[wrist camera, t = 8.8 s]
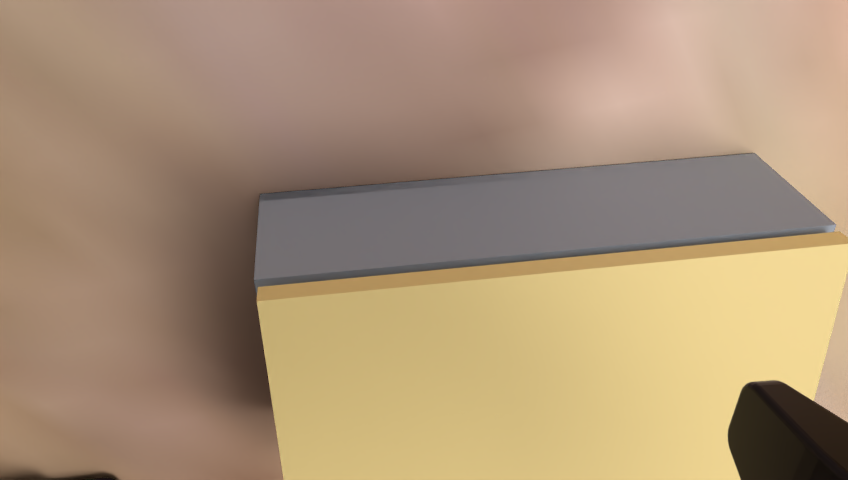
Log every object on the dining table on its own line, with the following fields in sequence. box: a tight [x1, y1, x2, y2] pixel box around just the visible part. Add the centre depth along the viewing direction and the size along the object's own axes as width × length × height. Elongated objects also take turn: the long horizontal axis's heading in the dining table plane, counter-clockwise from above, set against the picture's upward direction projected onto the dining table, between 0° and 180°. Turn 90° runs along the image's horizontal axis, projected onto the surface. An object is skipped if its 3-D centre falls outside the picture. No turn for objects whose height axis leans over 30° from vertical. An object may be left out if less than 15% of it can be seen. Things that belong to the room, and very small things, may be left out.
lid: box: [257, 232, 848, 480], centre depth 20 cm, size 8×14×1 cm, turn 91°
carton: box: [254, 153, 836, 296], centre depth 22 cm, size 8×14×4 cm, turn 91°
